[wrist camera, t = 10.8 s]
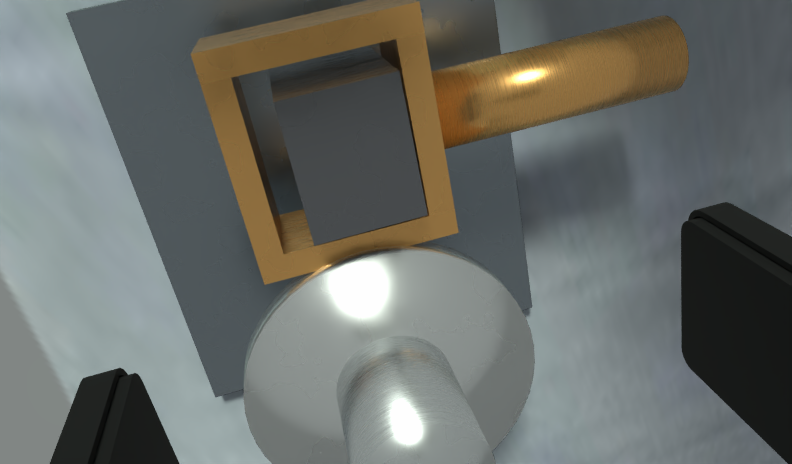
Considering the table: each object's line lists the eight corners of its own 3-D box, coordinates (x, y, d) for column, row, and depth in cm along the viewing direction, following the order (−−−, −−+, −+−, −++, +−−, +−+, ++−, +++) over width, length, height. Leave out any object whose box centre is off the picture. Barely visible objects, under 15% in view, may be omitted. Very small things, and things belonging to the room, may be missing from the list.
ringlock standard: (71, 11, 28) (-94, 69, 14) (577, -99, 30) (840, -138, 17) (227, 414, 37) (215, 679, 24) (604, 305, 40) (789, 490, 26)
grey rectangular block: (265, 54, 29) (273, 102, 20) (353, 34, 30) (399, 70, 21) (295, 160, 31) (314, 245, 22) (377, 139, 32) (427, 215, 23)
